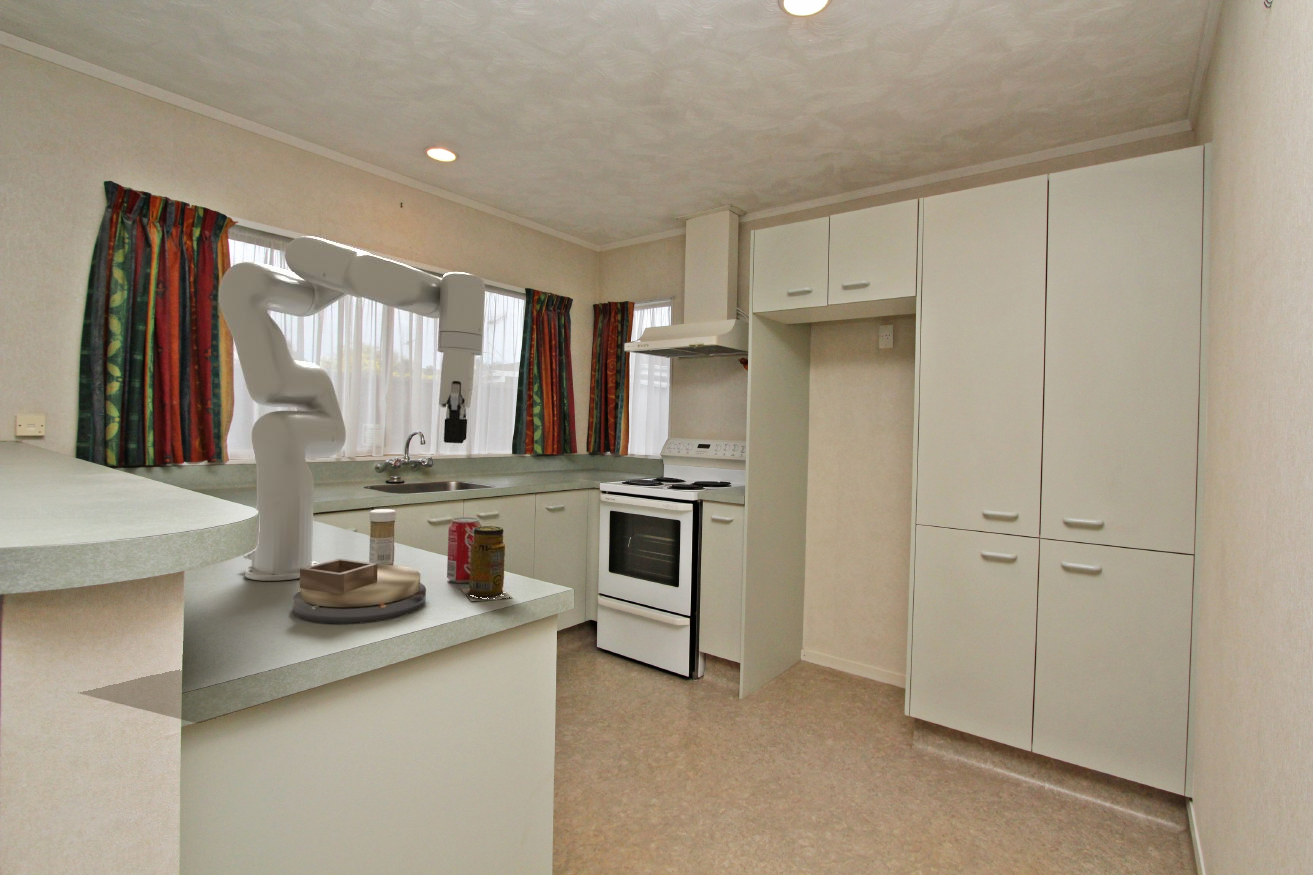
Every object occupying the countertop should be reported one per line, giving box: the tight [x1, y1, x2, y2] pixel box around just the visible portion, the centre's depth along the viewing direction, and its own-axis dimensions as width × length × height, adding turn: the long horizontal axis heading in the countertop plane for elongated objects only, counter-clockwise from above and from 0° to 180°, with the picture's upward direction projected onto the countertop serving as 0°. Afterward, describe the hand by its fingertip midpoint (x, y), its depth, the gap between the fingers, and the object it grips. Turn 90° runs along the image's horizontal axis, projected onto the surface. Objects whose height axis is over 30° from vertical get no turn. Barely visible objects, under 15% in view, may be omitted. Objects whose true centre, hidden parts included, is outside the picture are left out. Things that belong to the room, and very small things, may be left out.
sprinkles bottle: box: [368, 508, 397, 565], centre depth 118 cm, size 5×5×13 cm
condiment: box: [461, 525, 513, 602], centre depth 112 cm, size 7×8×12 cm
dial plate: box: [292, 582, 427, 625], centre depth 103 cm, size 20×20×2 cm
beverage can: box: [446, 516, 482, 584], centre depth 120 cm, size 6×6×12 cm
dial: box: [299, 558, 421, 607], centre depth 103 cm, size 18×18×5 cm
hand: (455, 441), depth 109 cm, fingers open, 9 cm apart
